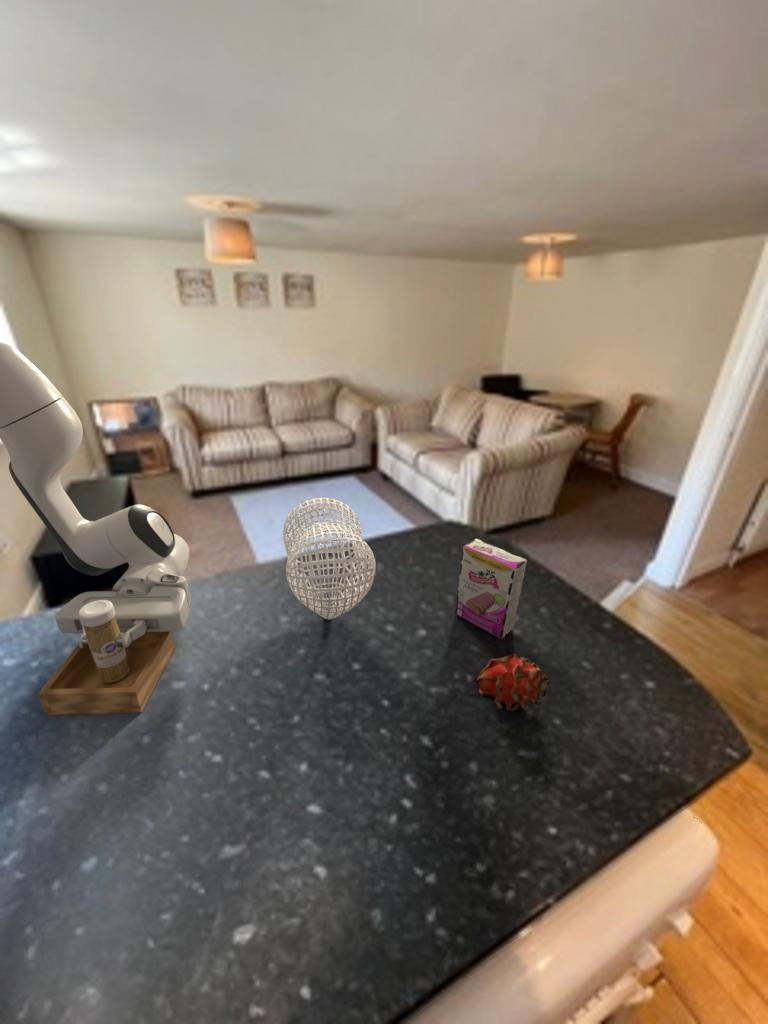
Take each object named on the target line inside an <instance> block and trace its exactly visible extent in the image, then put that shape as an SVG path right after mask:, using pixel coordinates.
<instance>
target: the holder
mask: <svg viewBox="0 0 768 1024" xmlns="http://www.w3.org/2000/svg"><path fill="white" fill-rule="evenodd" d="M120 633H121V632H120ZM124 648H125V652H126V657H127V660H128V664H129V665H130V671H129V673H128V674H127V676H126V677H124V678H123V679H121V680H119V681H117V682H114V683H104V682H102V681H100V679H99V672H98V670H97V667H96V664H95V662H94V659H93V656H92V653H91V650H90V648H80V647H79V644H77V645H76V646H75V648H74V649H73V650H72V651H71V652H70V654H69V655H68V656H67V658H65V660H64V661H63V662H62V664H61V665H60V666H59V667H58V668H57V670H55V672H54V673H53V674H52V676H51V677H50V678H49V679H48V681H47V682H46V683H45V685H43V687H42V688H41V689H40V690H39V692H38V693H37V696H38V699H39V701H40V704H41V706H42V708H43V711H44V715H46V716H55V715H58V716H59V715H60V716H61V715H97V714H98V715H99V714H141V713H142V712H143V711H144V709H145V708H146V705H147V703H148V701H149V699H150V698H151V695H152V694H153V693H154V690H155V688H156V686H157V684H158V682H159V680H160V679H161V677H162V675H163V674H164V671H165V669H166V667H167V665H168V664H169V661H170V659H171V658H172V656H173V654H174V652H175V650H176V644H175V640H174V635H173V632H145V634H144V635H142V636H140V637H139V638H137V639H135V640H134V641H132V642H131V643H130V645H129V646H128V647H124Z"/></svg>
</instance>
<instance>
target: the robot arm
mask: <svg viewBox="0 0 768 1024" xmlns="http://www.w3.org/2000/svg"><path fill="white" fill-rule="evenodd" d="M83 435H84V429H83V423H82V421H81V419H80V417H79V416H78V413H77V412H76V411H75V410H74V408H73V407H72V406H71V404H70V403H69V402H68V401H67V400H66V398H65V397H64V396H62V393H61V392H60V391H59V390H58V389H57V387H56V386H55V385H54V384H53V383H52V382H51V381H50V380H49V378H48V377H47V376H46V375H44V373H42V371H41V370H40V369H38V367H37V366H36V365H35V364H34V363H33V362H31V361H30V360H29V359H28V358H27V357H26V356H25V355H23V353H21V352H20V351H19V350H18V349H17V348H16V347H14V346H12V345H10V344H8V343H4V342H0V441H1V442H2V444H3V445H4V447H5V449H6V451H7V453H8V456H9V459H10V461H9V463H8V470H9V474H10V476H11V479H12V480H13V481H14V484H15V485H16V486H17V488H18V489H19V491H20V492H21V494H22V495H23V497H24V498H25V499H26V501H27V502H28V504H29V505H30V507H32V509H33V510H34V512H35V513H36V515H37V516H38V517H39V519H40V520H41V521H42V523H43V524H44V526H45V527H46V528H47V530H48V531H49V532H50V533H51V535H52V536H53V538H54V539H55V541H56V542H57V544H58V546H59V548H60V550H61V552H62V555H63V556H64V558H65V560H66V562H67V563H68V564H69V565H70V566H71V567H72V568H73V569H74V570H76V571H78V572H79V573H81V574H84V575H87V576H91V577H96V576H101V575H103V574H105V573H108V572H109V571H111V570H114V569H115V568H117V567H118V566H119V567H120V566H121V565H124V564H127V563H128V568H127V569H126V571H125V572H123V574H122V576H120V577H119V579H118V580H117V581H116V583H115V584H114V585H113V587H112V589H111V590H110V591H108V590H107V591H106V590H105V591H101V590H100V591H99V590H98V591H97V590H95V591H85V592H82V593H79V594H78V595H76V596H74V597H73V598H72V599H71V600H70V601H68V602H67V603H66V604H65V605H64V606H62V608H60V609H59V610H58V611H57V612H56V614H55V617H54V618H55V622H56V625H57V628H58V629H59V631H60V632H61V634H81V636H80V637H79V638H78V640H77V643H78V644H79V647H80V648H90V647H89V644H88V641H87V636H86V632H85V630H84V627H83V625H82V624H81V622H80V619H79V615H78V613H79V611H80V609H81V608H82V607H83V606H85V605H86V604H88V603H91V602H93V601H98V600H107V601H110V602H111V603H112V604H113V607H114V610H115V618H116V622H117V625H118V628H119V630H120V632H121V633H120V634H119V636H118V637H117V638H116V644H117V647H128V646H129V645H130V643H131V642H132V641H134V640H135V639H137V638H139V637H140V636H142V635H144V634H145V632H172V633H175V632H178V631H180V630H181V629H183V628H184V627H185V625H186V623H187V621H188V618H189V615H190V608H191V605H192V600H191V591H190V588H189V584H188V581H187V579H186V577H184V576H183V574H184V573H185V570H186V568H187V567H188V563H189V560H190V547H189V545H188V543H187V542H186V541H185V539H184V538H182V537H181V536H180V535H177V534H176V533H174V532H173V529H172V527H171V526H170V523H169V522H168V521H167V519H166V518H165V517H164V516H163V515H162V514H161V513H160V512H159V511H157V510H156V509H154V508H152V507H150V506H148V505H145V504H140V503H136V504H133V505H131V506H128V507H125V508H123V509H121V510H118V511H115V512H113V513H112V514H109V515H106V516H103V517H101V518H99V519H97V520H93V521H92V520H88V519H86V518H84V516H82V515H81V513H80V512H79V510H78V508H77V507H76V505H75V504H74V503H73V501H72V499H71V498H70V496H69V495H68V493H67V492H66V491H65V489H64V487H63V486H62V482H61V473H62V471H63V469H64V468H65V467H66V465H67V464H68V463H69V462H70V460H72V458H73V457H74V456H75V455H76V453H77V452H78V451H79V449H80V447H81V445H82V443H83V442H82V441H83ZM78 644H77V645H78Z"/></svg>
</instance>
